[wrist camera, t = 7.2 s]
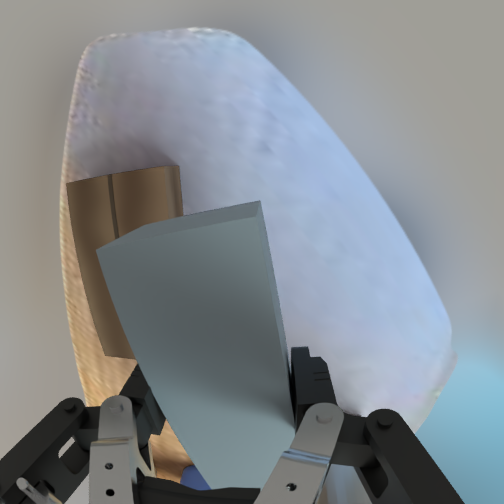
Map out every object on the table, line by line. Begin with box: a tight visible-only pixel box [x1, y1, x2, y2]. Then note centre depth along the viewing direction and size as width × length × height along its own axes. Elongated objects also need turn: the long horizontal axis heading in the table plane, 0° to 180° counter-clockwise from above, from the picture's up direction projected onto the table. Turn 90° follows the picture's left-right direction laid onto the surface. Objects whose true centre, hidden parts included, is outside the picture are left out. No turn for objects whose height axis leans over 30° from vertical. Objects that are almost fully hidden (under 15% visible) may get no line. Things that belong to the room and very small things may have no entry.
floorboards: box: [66, 166, 183, 359], centre depth 26 cm, size 10×18×4 cm, turn 3°
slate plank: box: [96, 201, 295, 490], centre depth 11 cm, size 5×14×4 cm, turn 11°
